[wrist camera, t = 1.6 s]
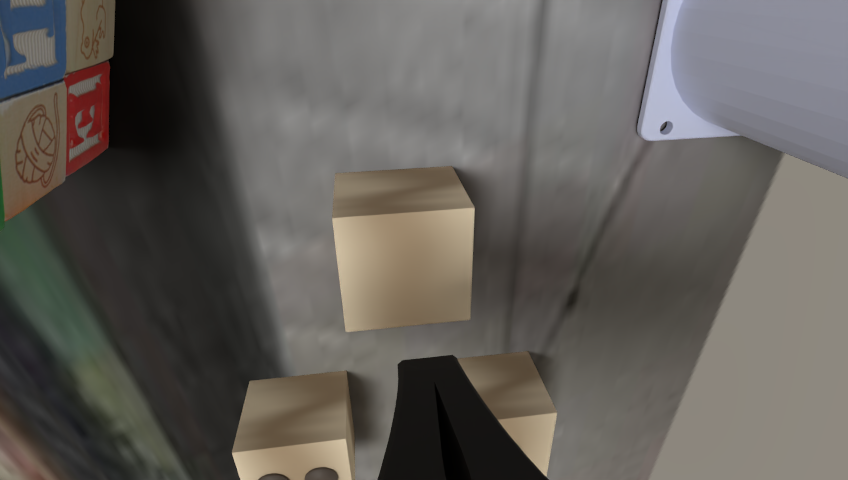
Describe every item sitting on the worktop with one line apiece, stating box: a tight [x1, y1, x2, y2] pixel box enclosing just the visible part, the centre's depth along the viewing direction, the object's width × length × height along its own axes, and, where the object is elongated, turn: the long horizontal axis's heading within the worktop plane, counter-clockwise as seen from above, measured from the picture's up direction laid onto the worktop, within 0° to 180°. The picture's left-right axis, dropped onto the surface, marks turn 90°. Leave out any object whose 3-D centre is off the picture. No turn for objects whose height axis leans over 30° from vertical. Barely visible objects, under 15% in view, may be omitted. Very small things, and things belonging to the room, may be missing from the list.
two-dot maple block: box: [232, 371, 355, 480], centre depth 22 cm, size 4×4×4 cm
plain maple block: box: [332, 166, 475, 332], centre depth 18 cm, size 4×4×4 cm
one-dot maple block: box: [458, 351, 557, 476], centre depth 23 cm, size 4×4×4 cm
